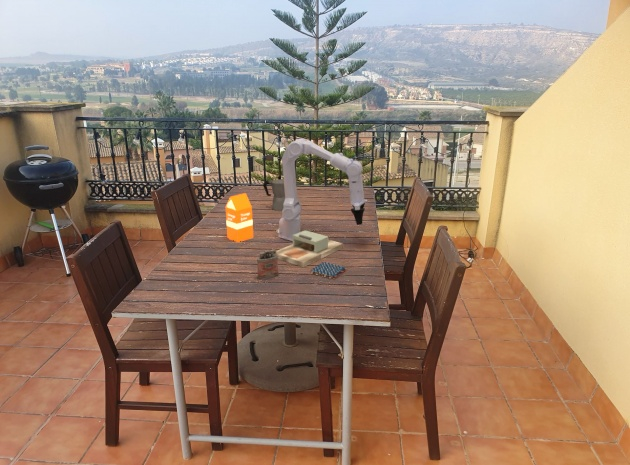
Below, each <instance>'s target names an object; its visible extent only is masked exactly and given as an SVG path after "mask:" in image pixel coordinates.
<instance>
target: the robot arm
mask: <svg viewBox="0 0 630 465" xmlns="http://www.w3.org/2000/svg"><path fill="white" fill-rule="evenodd" d="M311 154H313V155H314V156H316V157H319V158H322V159H323V160H326V161H328V162H329V163H330V165H331V167H334V168H336V169H338V170H340V171H342V172H344V173H345V174H346V175H347V177H348V188H349V198H350V205H352V206H351V208H350V212H351V213H352V215H353V216H354V221H355V224H356V225H357V226H360V225H363V217H364V212H365V211H366V210H365V205H366V203H367V202H368V199H365V193H364V183H363V182H364V180H363V175H362V174H363V173H362V171H363V164H362V163H361V161H359V160H354V158H349V157H347V156H344V153H343V152H336V153H332V152H331V151H328V150H327V149H325V148H323V147H321V145H320V146H319V145H318V144H316V143H314V142H313V141H311V140H309V139H308V140H307V139H306V138H303V137H300V138H298V139H296V140H293V141H292V142H290V143H289V144H287V145H286V149H285V151H284V153H283V155H282V156H281V162H282V175H283V180H284V189H285V201H284V204H283V211H281V214H282V215H281V216H282V217H281V218H280V219H279V221H278V235H277V237H278V238H280V239H283V240H286V241H290V242H293V235H295V234H297V233H300V232H301V216H300V215H301V213H302V211H303V206H302V205H301V203H300V199H299V197H298V192H297V190H298V189H297V176H296V164H295V163H296V160H297V159H299V157H300V156H301V155H311ZM352 207H353V208H352Z"/></svg>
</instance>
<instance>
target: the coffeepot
mask: <svg viewBox="0 0 630 465" xmlns="http://www.w3.org/2000/svg"><path fill="white" fill-rule="evenodd" d="M267 185H270V186H271V189H272V190H271V191H272V193H270V192H269V190H268V186H267ZM262 186H263V188H264V191H265V194H266V196H267V197H271V196H272V194H273V198H272V204H271V209H272V210H273V211H277V212H282V211H283V204H284V201H285V189H284V178H283V179H282V176H281V175H278V176H277V179H273V180H266V181H265V182H264V183H262Z"/></svg>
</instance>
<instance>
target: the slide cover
mask: <svg viewBox="0 0 630 465" xmlns="http://www.w3.org/2000/svg"><path fill="white" fill-rule="evenodd" d="M328 240H329V236H327V235H323V234H320V233H316V232H312V231H309V230H306V229H305V230H302V231H300V233H297V234H295V235H293V241H292V244H293V246H296V245H298V244H301V243H303V242H305V243H309V244H312V245H314V253H317V252H319V251H321V250H323V249H326V248H328Z"/></svg>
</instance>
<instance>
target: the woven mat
mask: <svg viewBox="0 0 630 465" xmlns="http://www.w3.org/2000/svg"><path fill="white" fill-rule="evenodd" d="M346 270H347V267H346V266H343V265H338V264H334V263H330V262H327V261H322V262H321V263H319V264H317V265H316V266H314V267H312V269H310V271H309V272H310V274H311V275H313V274H314V275H316V276H318V277H321V278H327V279H329V280H335V279H337V278H338V277H339V276H340V275H342V274H344V272H346Z"/></svg>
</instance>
